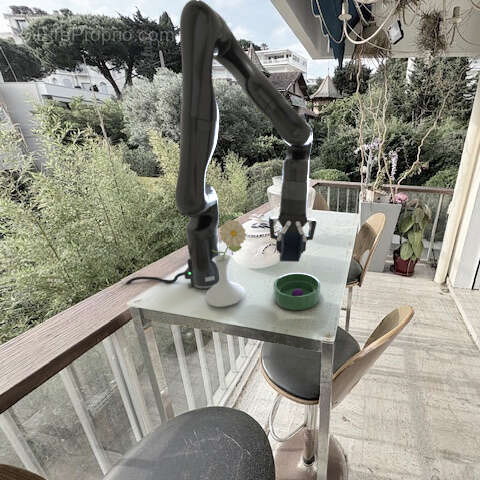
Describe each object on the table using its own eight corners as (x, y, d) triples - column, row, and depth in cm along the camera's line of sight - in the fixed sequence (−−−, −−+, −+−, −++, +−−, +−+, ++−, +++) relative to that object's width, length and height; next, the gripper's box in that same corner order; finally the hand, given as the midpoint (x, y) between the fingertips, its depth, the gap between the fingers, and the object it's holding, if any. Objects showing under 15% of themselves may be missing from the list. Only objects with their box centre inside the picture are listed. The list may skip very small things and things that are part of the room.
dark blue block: (279, 243, 85) (282, 229, 76) (298, 244, 86) (302, 229, 77) (279, 261, 82) (282, 247, 73) (298, 261, 83) (303, 248, 75)
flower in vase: (209, 315, 74) (198, 230, 65) (202, 295, 83) (191, 218, 73) (255, 302, 80) (250, 223, 71) (243, 284, 89) (238, 212, 80)
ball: (294, 301, 79) (297, 291, 79) (289, 296, 82) (292, 286, 81) (303, 300, 81) (306, 291, 81) (297, 295, 84) (300, 286, 83)
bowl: (272, 312, 76) (271, 297, 74) (275, 286, 89) (275, 272, 87) (321, 311, 77) (322, 296, 75) (317, 285, 90) (318, 272, 89)
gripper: (268, 197, 69) (266, 256, 75) (321, 200, 72) (316, 257, 78) (268, 192, 76) (266, 247, 82) (317, 195, 79) (312, 248, 85)
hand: (290, 251), depth 80 cm, fingers closed on dark blue block, 6 cm apart
